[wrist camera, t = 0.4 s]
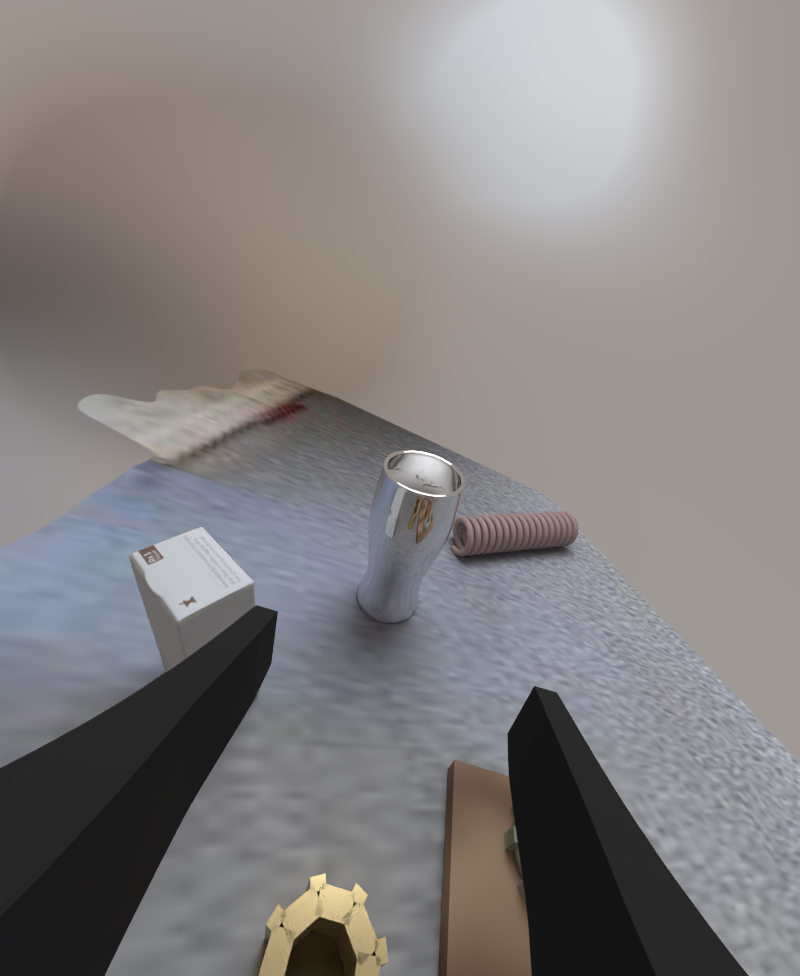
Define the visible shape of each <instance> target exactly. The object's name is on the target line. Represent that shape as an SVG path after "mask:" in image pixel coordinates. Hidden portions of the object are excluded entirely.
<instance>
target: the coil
mask: <svg viewBox="0 0 800 976" xmlns="http://www.w3.org/2000/svg"><path fill="white" fill-rule="evenodd" d="M460 526H461V527H460ZM473 529H474V531H473ZM459 530H460V533H459ZM466 530H467V534H466ZM577 535H578V524H577V522H576V519H575V518H574V516H573V515H572V514H570V513H568V512H545V513H527V514H513V515H512V514H508V515H494V516H492V515H488V516H480V517H479V516H474V517H471V516H468V517H466V518H465V517H459V518H458V519H457V520H456V521H455V524H454V528H453V536H454V541H455V544H456V545H453V546H451V548H450V549H451V550H452V551H453V553H455V554H456V555H457V556H465V555H467V556H470V555H479V554H487V553H489V554H491V553H499V552H507V551H509V552H511V551H519V550H526V549H527V550H531V549H538V548H549V547H560V546H568V545H570V544H572V543H573V542H574V541H575V539H576V537H577ZM460 536H461V539H460ZM474 537H475V539H474ZM481 538H482V539H481ZM488 539H489V540H488ZM461 541H462V542H461ZM462 543H463V544H462Z"/></svg>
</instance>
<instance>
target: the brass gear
mask: <svg viewBox="0 0 800 976" xmlns="http://www.w3.org/2000/svg"><path fill="white" fill-rule="evenodd" d="M367 896H368V895H367V894H366V893H365V892H364V891H363V890H362V889H361V887H360V886H359V885H358V884H357V883H356V884H355V885H354V887H353V888H352V890H351V891H347V890H344V889H341V888H338V887H334V886H331V885H328V884H326V873H325V874H322V875H318V876H314V877H310V880H309V883H308V886H307V889H306V892H305V893H304V894H303V895H302V896H301V897H300V898H298V899H297V900H296V901H295V902H294V903H293V904H291V905H290V906H289V907H288V908H287V909H286V910H283V909H282V907H281V906H280V905H279V904H278V906H277V907H276V909H275V911H274V912H273V914H272V916H271V917H270V919H269V920H268V922H267V924H266V930H265V939H266V940H267V941H268V945H267V949H266V952H265V955H264V959H263V962H262V965H261V969H260V972H259V975H258V976H284V975H285V971H286V968H287V964H288V960H289V956H290V952H291V949H292V948H294V947H295V946H296V945H297V944H298V943H299V942H300V941H301V940H302V939H303V938H304V937H305V936H306V935H308V934H309V933H310V932H311V931H315V932H318V933H321V934H324V935H328V936H331V937H334V939H335V942H336V945H337V948H338V951H339V954H340V956H341V959H342V962H343V965H344V968H345V971H344V976H379V971H380V967H381V966H383V965H384V964H386V963H388V956H387V948H386V940H385V937H384V938H381V939H378V940H377V937H376V935H375V932H374V930H373V927H372V925H371V922H370V920H369V917H368V915H367V912H366V910H365V907H364V905H363V904H364V902H365V900H366V898H367Z"/></svg>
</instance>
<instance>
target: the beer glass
mask: <svg viewBox="0 0 800 976" xmlns="http://www.w3.org/2000/svg"><path fill="white" fill-rule="evenodd" d="M465 484H466V481H465V478H464V475H463V474H462V472H461V471H460V470H459V469H458V468H457V467H456V466H455V465H453V464H452V463H451V462H449V461H447V460H445V459H443V458H441V457H439V456H437V455H434V454H431V453H427V452H422V451H415V450H403V451H397V452H394V453H392V454H390V455H389V456H387V457H386V459H385V460H384V463H383V468H382V471H381V474H380V477H379V480H378V483H377V486H376V490H375V493H374V497H373V501H372V505H371V511H370V517H369V530H368V566H367V570H366V572H365V574H364V576H363V578H362V580H361V582H360V584H359V587H358V591H357V597H358V602H359V604H360V606H361V608H362V609H363V610H364V612H365V613H366V614H368V615H369V616H370V617H372V618H374V619H376V620H378V621H381V622H385V623H398V622H402V621H404V620H406V619H408V618H409V617H410V616H411V615H412V614H413V613H414V612H415V610H416V607H417V604H418V597H419V588H420V584H421V582H422V580H423V578H424V576H425V574H426V573H427V571H428V570H429V568H430V567H431V565H432V564H433V562H434V561H435V559H436V558H437V556H438V555H439V553H440V552H441V550H442V548H443V546H444V545H445V543H446V541H447V539H448V536H449V534H450V532H451V529H452V527H453V524H454V521H455V518H456V515H457V512H458V508H459V505H460V501H461V497H462V493H463V490H464V488H465Z"/></svg>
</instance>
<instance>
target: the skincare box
mask: <svg viewBox="0 0 800 976" xmlns="http://www.w3.org/2000/svg"><path fill="white" fill-rule="evenodd" d="M129 558H130V562H131V565H132V569H133V572H134V575H135V578H136V581H137V585H138V588H139V591H140V594H141V597H142V600H143V603H144V606H145V609H146V612H147V616H148V619H149V622H150V625H151V628H152V631H153V634H154V637H155V640H156V643H157V647H158V650H159V652H160V656H161V659H162V662H163V665H164V668H165V671H166V672H167V671H169V670H170V669H172V668H173V667H175V666H176V665H178V664H179V663H180V662H182V661H183V660H185V659H186V658H187V657H189V656H190V655H191V654H193V653H194V652H196V651H197V650H198V649H200V648H201V647H202V646H204V645H205V644H207V643H208V642H209V641H211V640H212V639H213V638H215V637H216V636H217V635H218V634H220V633H221V632H222V631H224V630H225V629H226V628H228V627H229V626H230V625H231V624H233V623H234V622H235V621H236V620H238V619H239V618H240V617H241V616H243V615H244V614H245V613H246V612H248V611H249V610H250V609H251V608H252V607H255V594H254V581H253V580H252V579H251V578H250V577H249V576H248V575H247V574H246V573H245V572H244V571H243V570H242V569H241V568H240V567H239V566H238V565H237V564H236V562H235V561H234V560H233V559H232V558H231V557H230V556H229V555H228V554H227V553H226V552H225V551H224V550H223V549H222V548H221V547H220V546H219V545H218V544H217V542H216V541H215V540H214V539H213V538H212V537H211V536H210V535H209V534H208V533H207V532H206V531H205V530H204V528H203V527H200V528H197V529H194V530H191V531H189V532H186V533H183V534H181V535H178V536H176V537H173V538H171V539H168V540H165V541H163V542H160V543H158V544H155V545H153V546H150V547H148V548H145V549H143V550H140V551H137V552H134V553H132V554H130V557H129ZM258 692H259V690H258ZM258 692H257V694H258ZM257 694H256V695H257Z"/></svg>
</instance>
